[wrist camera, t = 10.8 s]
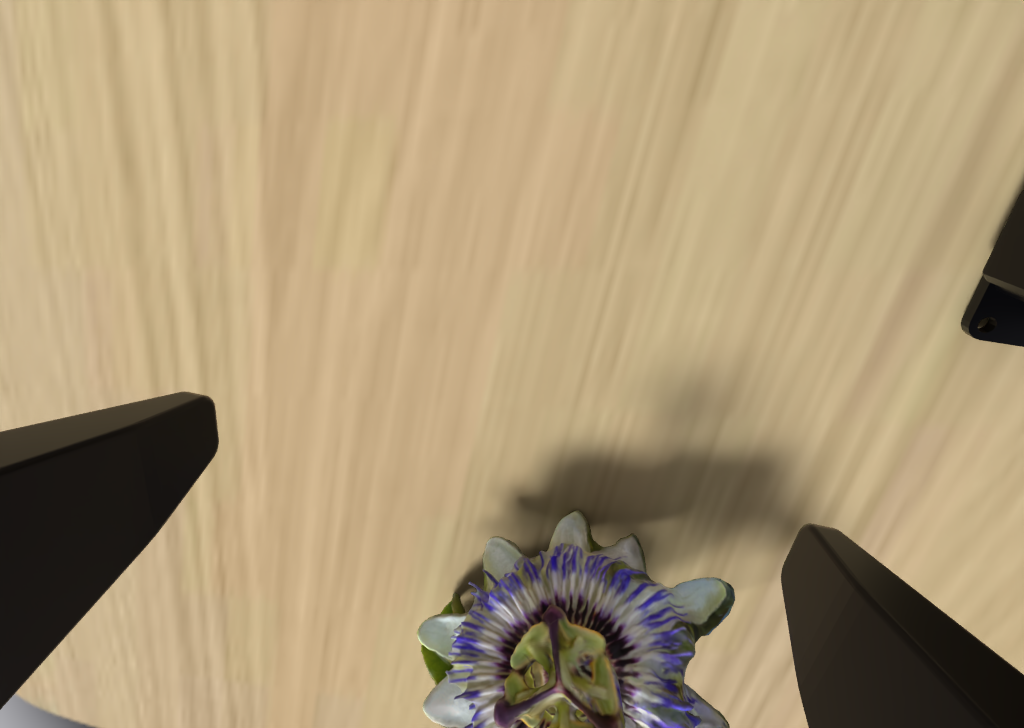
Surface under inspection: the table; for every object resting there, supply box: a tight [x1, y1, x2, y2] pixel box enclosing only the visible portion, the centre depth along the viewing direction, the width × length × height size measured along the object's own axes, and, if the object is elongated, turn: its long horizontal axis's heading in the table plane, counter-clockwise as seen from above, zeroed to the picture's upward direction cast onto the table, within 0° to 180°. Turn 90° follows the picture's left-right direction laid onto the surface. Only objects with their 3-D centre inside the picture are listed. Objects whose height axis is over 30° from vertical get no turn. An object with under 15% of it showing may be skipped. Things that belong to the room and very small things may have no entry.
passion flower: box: [417, 511, 735, 728], centre depth 21 cm, size 11×11×12 cm
